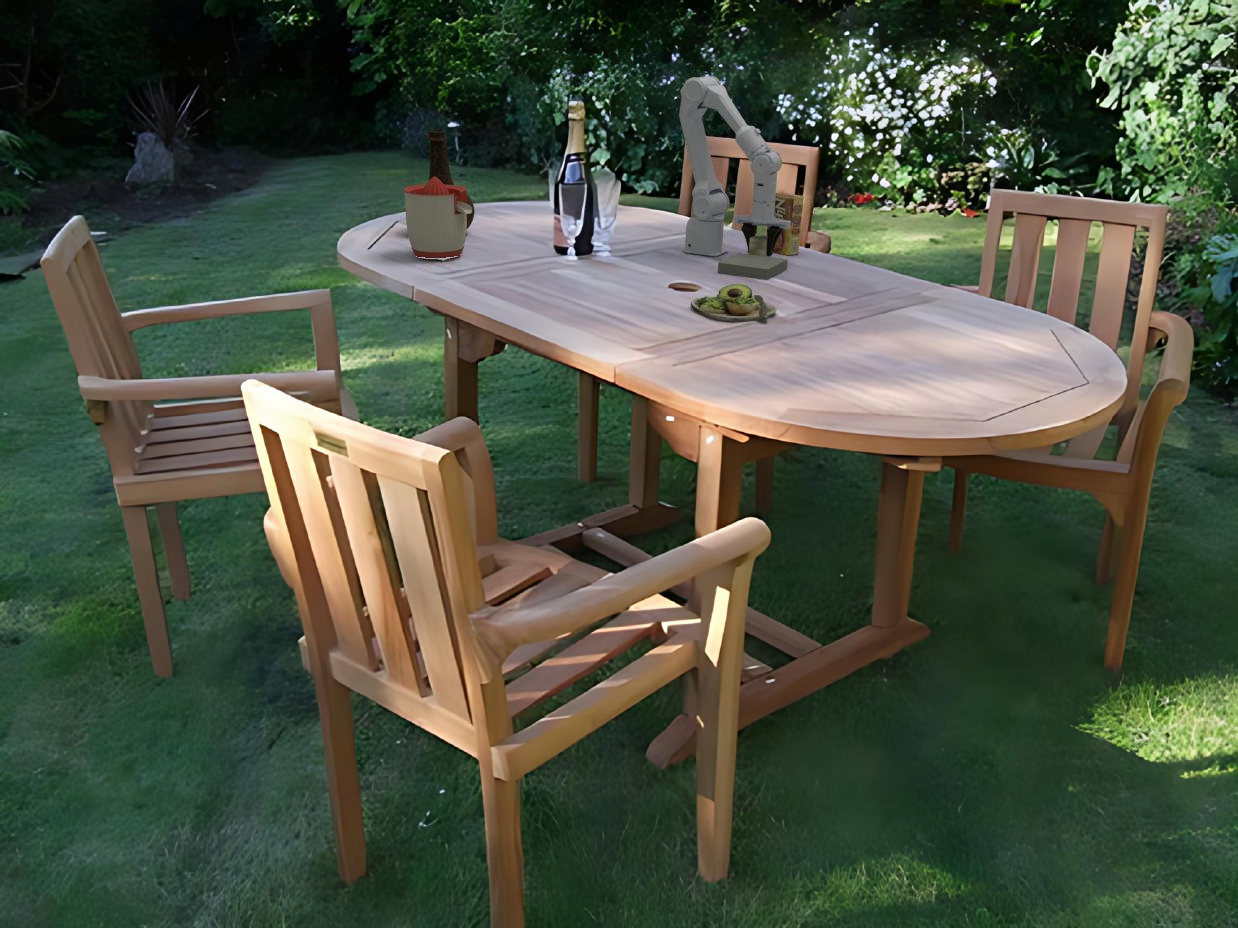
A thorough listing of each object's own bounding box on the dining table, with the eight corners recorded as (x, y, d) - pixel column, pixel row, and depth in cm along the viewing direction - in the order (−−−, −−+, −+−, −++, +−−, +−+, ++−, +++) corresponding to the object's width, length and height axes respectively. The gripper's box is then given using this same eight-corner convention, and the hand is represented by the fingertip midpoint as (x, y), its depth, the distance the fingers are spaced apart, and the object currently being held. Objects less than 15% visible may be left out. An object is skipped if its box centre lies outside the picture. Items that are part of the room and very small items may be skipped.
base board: (717, 272, 273) (718, 262, 272) (738, 262, 283) (739, 253, 282) (767, 279, 267) (767, 269, 266) (786, 269, 278) (787, 259, 277)
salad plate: (798, 321, 234) (800, 300, 233) (724, 330, 228) (725, 308, 226) (751, 300, 251) (753, 279, 249) (681, 307, 244) (682, 286, 242)
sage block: (748, 261, 285) (749, 237, 283) (755, 258, 289) (756, 235, 287) (764, 263, 283) (766, 239, 281) (771, 260, 287) (772, 237, 285)
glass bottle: (477, 228, 318) (474, 127, 307) (472, 241, 301) (469, 134, 290) (414, 228, 317) (409, 126, 306) (406, 240, 300) (400, 133, 289)
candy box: (799, 254, 294) (804, 195, 288) (788, 256, 292) (793, 197, 286) (775, 248, 301) (779, 191, 295) (764, 250, 298) (768, 192, 292)
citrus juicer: (455, 266, 273) (452, 183, 266) (395, 259, 279) (390, 178, 271) (486, 254, 287) (483, 175, 279) (427, 247, 293) (423, 170, 285)
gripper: (731, 200, 280) (727, 253, 286) (785, 206, 274) (780, 260, 279) (742, 196, 286) (738, 248, 291) (795, 202, 280) (791, 255, 285)
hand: (760, 254), depth 286 cm, fingers closed on sage block, 4 cm apart
